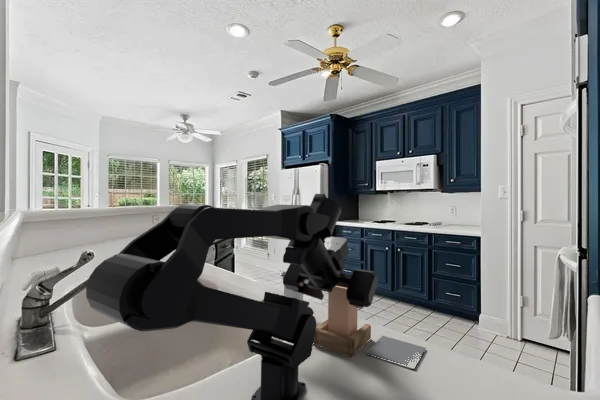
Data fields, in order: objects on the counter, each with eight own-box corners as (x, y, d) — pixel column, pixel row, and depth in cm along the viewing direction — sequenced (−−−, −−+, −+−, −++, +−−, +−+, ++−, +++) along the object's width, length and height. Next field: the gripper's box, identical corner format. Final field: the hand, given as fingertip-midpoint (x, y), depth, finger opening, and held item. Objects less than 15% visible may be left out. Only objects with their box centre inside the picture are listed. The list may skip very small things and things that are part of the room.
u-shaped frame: (351, 357, 56) (352, 341, 56) (312, 343, 62) (312, 329, 62) (370, 338, 64) (370, 324, 64) (334, 328, 69) (334, 315, 69)
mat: (414, 370, 52) (414, 367, 52) (366, 354, 57) (366, 352, 57) (425, 349, 60) (425, 347, 60) (382, 337, 65) (382, 335, 65)
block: (347, 348, 60) (348, 289, 60) (327, 341, 62) (328, 285, 62) (357, 339, 64) (357, 284, 64) (338, 334, 66) (338, 280, 66)
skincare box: (299, 320, 73) (300, 272, 74) (283, 319, 74) (283, 271, 74) (303, 311, 79) (304, 267, 80) (287, 310, 80) (288, 266, 80)
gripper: (375, 227, 53) (394, 276, 62) (291, 222, 63) (317, 264, 72) (356, 281, 46) (380, 327, 55) (266, 265, 57) (299, 305, 66)
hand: (341, 302), depth 62 cm, fingers open, 9 cm apart
